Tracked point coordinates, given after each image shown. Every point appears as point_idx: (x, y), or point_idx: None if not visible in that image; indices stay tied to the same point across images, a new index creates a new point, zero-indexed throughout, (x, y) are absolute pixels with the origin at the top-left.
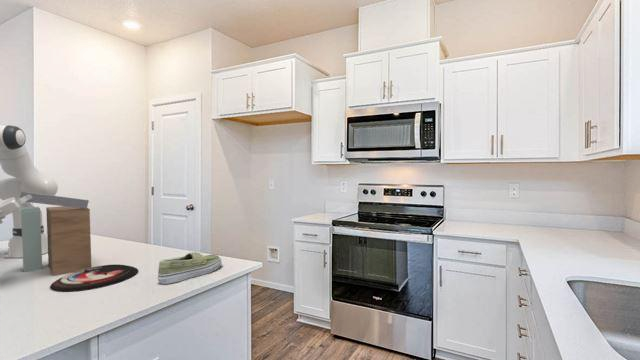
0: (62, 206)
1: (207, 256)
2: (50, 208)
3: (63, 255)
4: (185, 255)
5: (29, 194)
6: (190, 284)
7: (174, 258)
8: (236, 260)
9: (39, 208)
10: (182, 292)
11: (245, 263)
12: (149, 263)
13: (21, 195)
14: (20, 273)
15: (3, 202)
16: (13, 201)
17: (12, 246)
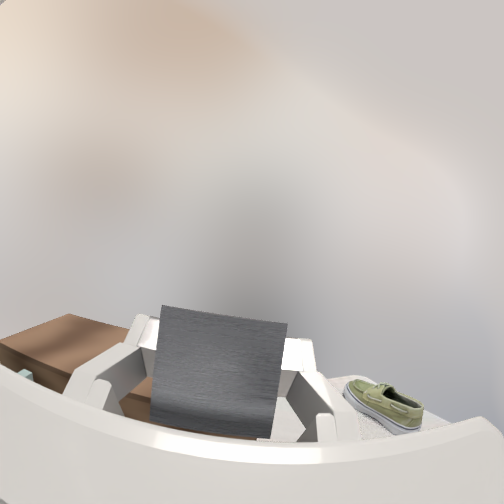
0: (40, 329)
1: (367, 384)
2: (60, 362)
3: None
4: (381, 392)
5: (309, 339)
6: (422, 418)
7: (393, 400)
8: (334, 379)
9: (30, 374)
10: (448, 423)
11: (353, 379)
12: (271, 433)
13: (277, 368)
14: None
15: (2, 487)
16: (488, 424)
17: None
